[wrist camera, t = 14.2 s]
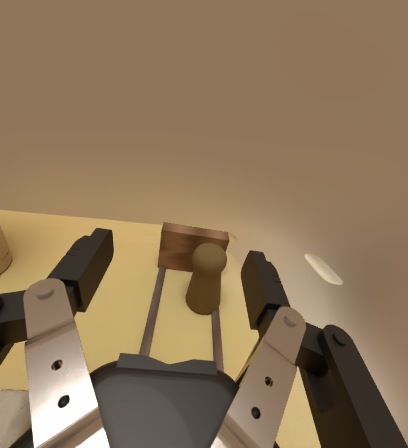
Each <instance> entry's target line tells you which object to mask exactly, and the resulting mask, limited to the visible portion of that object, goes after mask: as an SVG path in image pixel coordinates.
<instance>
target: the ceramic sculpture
mask: <svg viewBox="0 0 408 448" xmlns="http://www.w3.org/2000/svg"><path fill="white" fill-rule="evenodd" d="M31 426H32V421H31V410H30V400H29V391H26V390H11V389H6V390H1V391H0V448H8V447H10V446H11V445H12V444H13V443H14V442H15V441H16V440H17V439H18V438H19V437H20V436H22V435H23V434H24V433H25V432H26V431H27V430H28V429H29V428H30V427H31Z"/></svg>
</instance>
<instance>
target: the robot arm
mask: <svg viewBox="0 0 408 448" xmlns="http://www.w3.org/2000/svg"><path fill="white" fill-rule="evenodd" d="M113 252H114V248H113V234H112V230H108V229H102V228H96V229H95V230H94V232H93V233H92V234H91V236H83V237H82V238H80V239H78V240H77V241H76V242H75V243H74V244H73V245H72V247H71V248H70V250H68V252H67V253H66V255H65V256H64V257H63V258H62V259H61V261H60V262H59V263H58V264H57V266H56V267H55V268H54V269H53V271H52V272H51V273H50V274H49V276H48V277H47V278H46V279H44V280H41V281H38V282H36V283H34V284H33V285H31V286H30V287H29V288H28V289H27V290H24V291H18V292H11V293H3V294H0V365H1V363H2V362H3V360H4V359H5V357H6V356H7V354H8V353H9V351H10V350H11V348H12V346H13V345H14V343H17V342H22V341H26V340H28V341H27V342H25V359H26V369H27V379H28V390H29V400H30V410H31V421H32V426H31V427H30V428H29V429H28V430H27V431H26V432H25V433H24V434H23V435H22V436H20V437H19V438H18V439H17V440H16V441H15V442H14V443H13V444H12V445H11V446H10V447H8V448H280V447H279V446H278V444H277V443H276V441H275V439H276V436H277V433H278V429H279V426H280V423H281V420H282V417H283V413H284V410H285V407H286V404H287V401H288V397H289V394H290V391H291V388H292V385H293V381H294V378H295V375H296V371H297V366H298V367H299V370H300V374H301V377H302V381H303V384H304V388H305V391H306V395H307V398H308V402H309V406H310V409H311V413H312V416H313V420H314V423H315V427H316V430H317V434H318V438H319V441H320V445H321V448H408V446H407V444H406V442H405V440H404V438H403V436H402V434H401V432H400V431H399V428H398V427H397V425H396V423H395V421H394V419H393V417H392V416H391V413H390V411H389V409H388V407H387V405H386V403H385V402H384V400H383V398H382V396H381V394H380V392H379V390H378V388H377V386H376V384H375V382H374V380H373V378H372V377H371V375H370V373H369V371H368V369H367V367H366V365H365V363H364V361H363V359H362V357H361V356H360V353H359V352H358V350H357V348H356V346H355V344H354V342H353V340H352V339H351V337H350V336H349V335H348V334H347V333H346V332H345V331H344V330H342V329H341V328H339V327H337V326H335V325H327V326H325V327H324V328H323V329H321V328H318V327H316V326H314V325H311V324H309V323H307V322H305V320H304V319H303V317H302V316H301V315H300V314H299V313H298V312H297V311H296V310H294V309H293V308H291V307H290V304H289V302H288V299H287V296H286V294H285V291H284V289H283V286H282V284H281V281H280V278H279V275H278V273H277V270H276V269H275V267H274V266H273V265H272V264H271V262H267V261H266V259H265V256H264V253H263V252H258V251H249V253H248V255H247V257H246V260H245V262H244V264H243V267H242V270H241V280H242V286H243V291H244V296H245V301H246V307H247V312H248V317H249V323H250V328H251V329H253V330H258V333H259V338H258V340H257V342H256V344H255V346H254V348H253V350H252V351H251V353H250V355H249V357H248V359H247V361H246V363H245V365H244V366H243V368H242V370H241V372H240V373H239V375H238V376H237V378H236V380H235V381H234V380H233V379H232V378H231V377H230V376H228V375H227V374H226V373H224V372H222V371H221V370H218V369H217V361H206V360H195V359H193V360H189V361H184V362H179V363H175V364H166V363H163V362H161V361H158V360H156V359H153V358H151V357H148V356H146V355H137V354H125V353H120V356H119V359H118V361H113V362H110V363H107V364H105V365H103V366H101V367H99V368H97V369H96V370H94V371H93V372H91V373H89V370H88V366H87V363H86V359H85V356H84V352H83V349H82V345H81V341H80V338H79V334H78V331H77V327H76V323H75V320H74V316H75V314H76V312H85V311H86V310H87V308H88V306H89V304H90V302H91V300H92V298H93V296H94V294H95V292H96V290H97V288H98V286H99V284H100V282H101V280H102V278H103V276H104V274H105V272H106V270H107V268H108V266H109V264H110V262H111V260H112V258H113ZM11 261H12V256H11V253H10V250H9V248H8V245H7V243H6V240H5V237H4V235H3V232H2V230H1V227H0V274H1V273H2V272H3V271H4V270H6V268H7V267H8V266H9V265H10V263H11Z"/></svg>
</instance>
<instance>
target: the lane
mask: <svg viewBox="0 0 408 448" xmlns="http://www.w3.org/2000/svg"><path fill="white" fill-rule="evenodd" d="M205 243H212V244H216V245H218V246H220V247H221V248H223V250H224V251H225V252H226V249H227V246H228V243H229V236H228V232H222V231H216V230H210V229H203V228H197V227H190V226H184V225H178V224H172V223H165V222H164V224H163V227H162V232H161V241H160V250H159V260H158V267H159V272H158V276H157V281H156V285H155V289H154V293H153V297H152V302H151V306H150V310H149V314H148V319H147V323H146V327H145V331H144V336H143V340H142V344H141V348H140V352H139V355H146V356H149V351H150V346H151V341H152V336H153V330H154V325H155V320H156V315H157V310H158V305H159V300H160V295H161V290H162V285H163V280H164V275H165V270H166V269H173V270H181V271H188V272H193V271H194V266H193V262H192V255H193V253H194V251H195V249H196V248H197V247H198V246H199V245H201V244H205ZM212 334H213V356H214V361H217V369H218V370H221V371H222V372H224V367H223V355H222V342H221V329H220V317H219V307H218V308H217V309H216V310H215V311H214V312H212Z"/></svg>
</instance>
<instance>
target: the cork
mask: <svg viewBox="0 0 408 448" xmlns="http://www.w3.org/2000/svg"><path fill="white" fill-rule="evenodd" d="M192 262H193V266H194V271H193V274H192V277H191V281H190V284H189V287H188V291H187V294H186V302H187V305H188V306H189V308H190V309H191V310H193V311H194V312H196V313H200V314H209V313H212V312H214V311H215V310H216V309H217V308H218V307H219V305H220V292H221V272H222V271H223V269H224V268H225V266H226V262H227V256H226V253H225V251H224V250H223V248H221V247H220V246H218V245H216V244H212V243H205V244H201V245H199V246H198V247H197V248H196V249H195V251H194V253H193V255H192Z"/></svg>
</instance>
